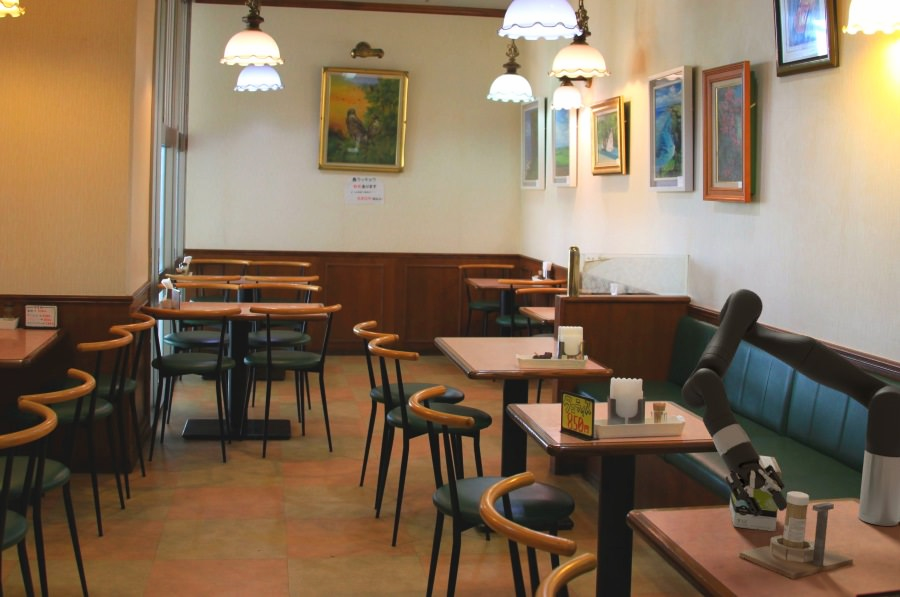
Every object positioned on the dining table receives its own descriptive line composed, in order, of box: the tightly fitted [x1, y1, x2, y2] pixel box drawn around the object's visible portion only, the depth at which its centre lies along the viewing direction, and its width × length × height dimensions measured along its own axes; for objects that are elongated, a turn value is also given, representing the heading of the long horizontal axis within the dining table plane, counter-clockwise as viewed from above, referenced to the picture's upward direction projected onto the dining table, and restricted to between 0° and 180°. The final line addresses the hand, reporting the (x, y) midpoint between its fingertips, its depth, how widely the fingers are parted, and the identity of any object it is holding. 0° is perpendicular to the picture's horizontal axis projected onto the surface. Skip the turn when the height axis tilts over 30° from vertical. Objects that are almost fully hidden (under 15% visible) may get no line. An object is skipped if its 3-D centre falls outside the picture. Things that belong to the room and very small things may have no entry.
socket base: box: [739, 501, 854, 580], centre depth 218 cm, size 20×14×14 cm
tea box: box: [729, 455, 782, 532], centre depth 244 cm, size 15×10×15 cm
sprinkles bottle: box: [782, 490, 810, 549], centre depth 219 cm, size 5×5×13 cm
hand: (771, 512), depth 223 cm, fingers open, 8 cm apart
